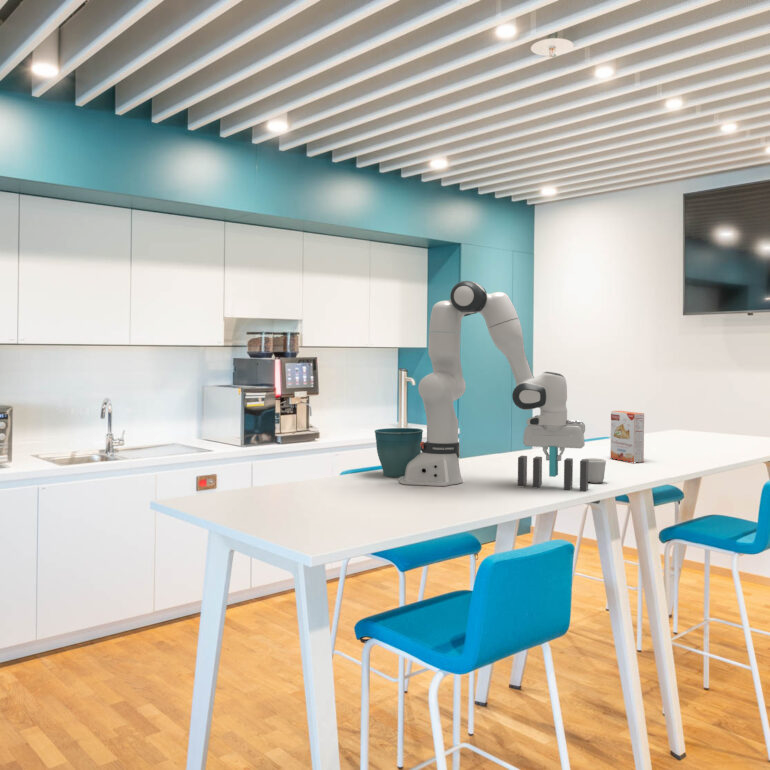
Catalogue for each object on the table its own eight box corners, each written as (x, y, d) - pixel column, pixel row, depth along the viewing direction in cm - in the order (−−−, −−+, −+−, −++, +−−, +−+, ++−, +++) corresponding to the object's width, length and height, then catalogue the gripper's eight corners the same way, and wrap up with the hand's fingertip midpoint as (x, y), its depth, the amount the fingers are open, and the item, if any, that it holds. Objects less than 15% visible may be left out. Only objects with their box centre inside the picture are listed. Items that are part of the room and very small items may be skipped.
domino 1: (526, 484, 258) (527, 455, 257) (523, 486, 253) (523, 457, 253) (521, 484, 259) (521, 455, 258) (517, 486, 254) (518, 457, 253)
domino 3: (572, 487, 252) (572, 458, 251) (569, 490, 247) (570, 460, 247) (566, 487, 252) (566, 458, 252) (563, 489, 248) (564, 460, 247)
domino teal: (557, 474, 253) (558, 445, 253) (555, 476, 249) (555, 447, 248) (552, 474, 254) (552, 445, 254) (549, 476, 250) (549, 446, 249)
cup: (572, 479, 267) (573, 457, 267) (591, 478, 270) (591, 456, 270) (591, 484, 257) (591, 461, 257) (610, 483, 260) (610, 460, 260)
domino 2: (541, 485, 256) (542, 456, 255) (538, 487, 251) (539, 458, 251) (535, 485, 256) (536, 456, 256) (532, 487, 252) (533, 458, 251)
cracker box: (609, 459, 319) (610, 410, 318) (620, 458, 322) (621, 410, 321) (633, 463, 306) (633, 413, 305) (644, 462, 309) (644, 412, 308)
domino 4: (588, 488, 250) (588, 459, 249) (585, 491, 245) (586, 461, 244) (582, 488, 250) (582, 459, 250) (579, 491, 246) (580, 461, 245)
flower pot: (365, 477, 273) (365, 431, 272) (388, 470, 289) (388, 426, 288) (409, 481, 264) (410, 433, 264) (430, 473, 280) (430, 429, 280)
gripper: (586, 419, 249) (586, 460, 250) (526, 418, 258) (526, 457, 258) (583, 421, 244) (583, 463, 244) (522, 419, 252) (522, 460, 252)
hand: (553, 460), depth 251 cm, fingers closed on domino teal, 2 cm apart
